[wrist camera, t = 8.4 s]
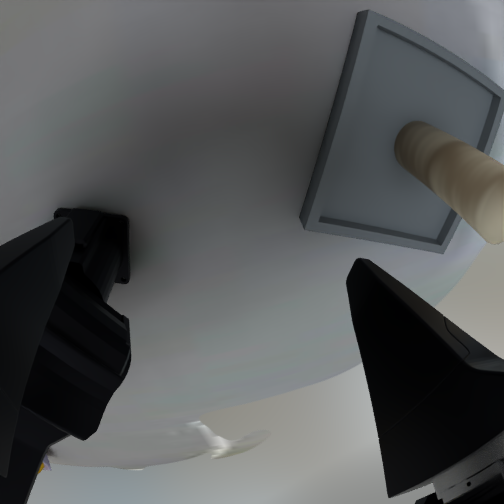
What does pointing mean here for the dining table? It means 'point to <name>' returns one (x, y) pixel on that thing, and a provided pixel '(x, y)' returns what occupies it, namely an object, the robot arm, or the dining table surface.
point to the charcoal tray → (385, 132)
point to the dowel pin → (456, 176)
